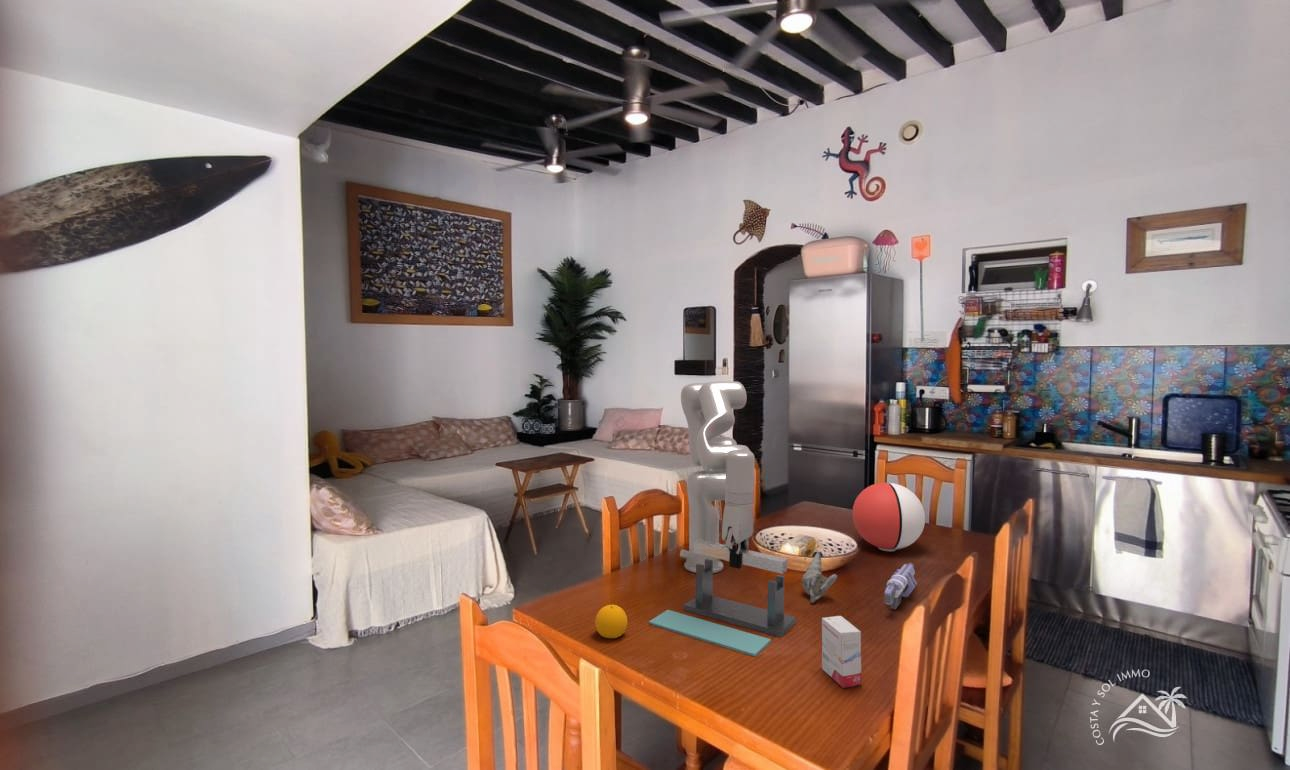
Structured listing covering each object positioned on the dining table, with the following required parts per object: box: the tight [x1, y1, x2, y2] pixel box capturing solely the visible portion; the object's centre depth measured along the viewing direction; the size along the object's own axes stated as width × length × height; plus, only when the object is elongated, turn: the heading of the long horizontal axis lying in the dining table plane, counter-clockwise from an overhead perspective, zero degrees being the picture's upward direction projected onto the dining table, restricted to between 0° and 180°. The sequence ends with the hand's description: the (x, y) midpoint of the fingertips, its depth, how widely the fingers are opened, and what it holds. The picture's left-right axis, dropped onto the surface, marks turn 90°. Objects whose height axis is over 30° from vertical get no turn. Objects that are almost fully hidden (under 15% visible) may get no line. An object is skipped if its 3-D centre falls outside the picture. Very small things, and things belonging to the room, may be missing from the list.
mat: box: [648, 609, 772, 658], centre depth 157 cm, size 30×9×1 cm, turn 55°
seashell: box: [801, 550, 838, 604], centre depth 181 cm, size 10×17×10 cm, turn 145°
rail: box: [693, 539, 788, 575], centre depth 166 cm, size 26×3×3 cm, turn 55°
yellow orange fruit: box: [594, 604, 628, 639], centre depth 155 cm, size 8×8×8 cm
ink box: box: [821, 615, 863, 689], centre depth 135 cm, size 9×5×12 cm, turn 13°
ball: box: [852, 482, 926, 552], centre depth 221 cm, size 24×24×23 cm
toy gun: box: [883, 562, 918, 610], centre depth 176 cm, size 7×28×8 cm, turn 145°
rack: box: [683, 559, 797, 638], centre depth 166 cm, size 28×10×12 cm, turn 55°
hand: (738, 564), depth 166 cm, fingers closed on rail, 3 cm apart
